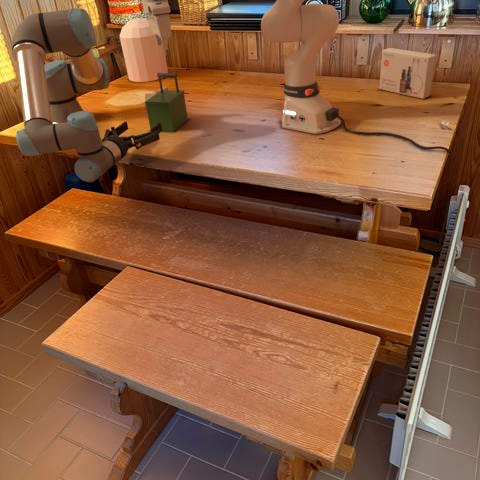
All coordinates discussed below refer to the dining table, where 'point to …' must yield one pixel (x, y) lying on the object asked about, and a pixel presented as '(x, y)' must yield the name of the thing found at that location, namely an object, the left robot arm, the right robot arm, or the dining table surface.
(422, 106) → the dining table surface
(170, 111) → the chest
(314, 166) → the dining table surface
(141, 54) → the container
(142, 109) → the dining table surface
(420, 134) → the dining table surface
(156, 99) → the lid
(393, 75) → the skincare box
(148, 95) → the rock
